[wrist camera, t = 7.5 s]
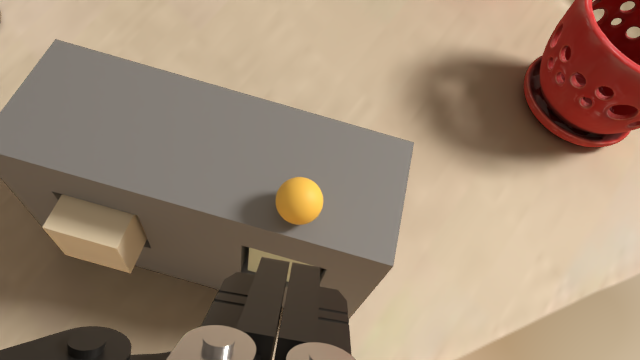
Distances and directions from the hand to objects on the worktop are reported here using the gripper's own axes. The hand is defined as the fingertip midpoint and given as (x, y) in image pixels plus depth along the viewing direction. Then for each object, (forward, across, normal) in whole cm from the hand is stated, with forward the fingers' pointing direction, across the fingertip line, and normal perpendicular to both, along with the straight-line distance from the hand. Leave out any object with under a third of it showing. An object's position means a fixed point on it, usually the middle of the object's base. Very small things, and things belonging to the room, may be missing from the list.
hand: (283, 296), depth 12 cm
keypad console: (+24, +6, +8) cm, 26 cm away
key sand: (+18, +12, +7) cm, 22 cm away
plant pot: (+40, -26, -6) cm, 48 cm away
